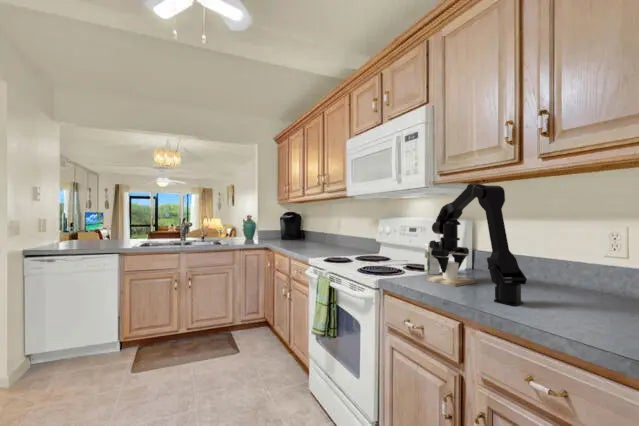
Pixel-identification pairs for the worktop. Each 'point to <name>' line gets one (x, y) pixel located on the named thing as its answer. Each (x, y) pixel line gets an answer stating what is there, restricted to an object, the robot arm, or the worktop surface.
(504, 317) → the worktop surface
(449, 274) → the white short cylinder
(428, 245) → the syrup box
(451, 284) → the birch board
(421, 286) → the worktop surface
